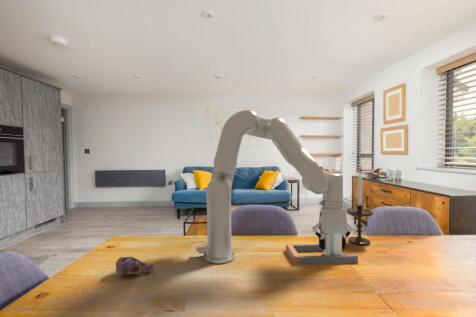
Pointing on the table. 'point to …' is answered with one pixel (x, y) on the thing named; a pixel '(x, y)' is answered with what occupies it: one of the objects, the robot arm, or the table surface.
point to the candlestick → (359, 216)
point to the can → (333, 243)
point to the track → (322, 259)
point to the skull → (132, 266)
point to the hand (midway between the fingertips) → (332, 247)
